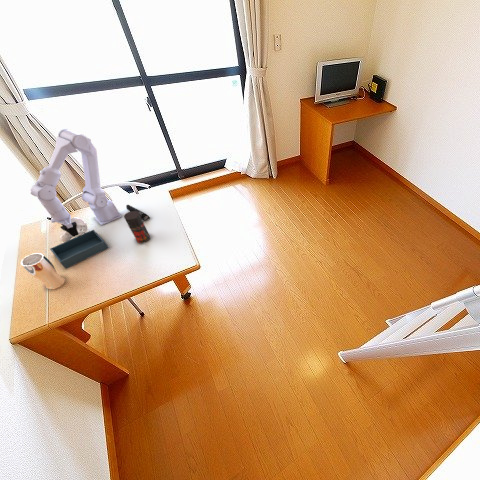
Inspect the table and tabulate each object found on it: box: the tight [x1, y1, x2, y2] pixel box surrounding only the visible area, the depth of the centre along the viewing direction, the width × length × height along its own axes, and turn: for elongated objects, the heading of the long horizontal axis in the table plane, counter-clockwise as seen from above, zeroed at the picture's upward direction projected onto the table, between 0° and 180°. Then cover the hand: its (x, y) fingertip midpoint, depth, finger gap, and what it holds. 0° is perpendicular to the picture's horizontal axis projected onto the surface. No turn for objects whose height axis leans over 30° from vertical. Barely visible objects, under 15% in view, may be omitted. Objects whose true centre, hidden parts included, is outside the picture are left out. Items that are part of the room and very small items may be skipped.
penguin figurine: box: [59, 216, 89, 243], centre depth 129 cm, size 6×8×12 cm
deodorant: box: [123, 211, 151, 244], centre depth 129 cm, size 6×6×15 cm
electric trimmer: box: [125, 204, 151, 222], centre depth 146 cm, size 4×16×3 cm, turn 58°
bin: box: [49, 229, 109, 270], centre depth 124 cm, size 17×11×4 cm, turn 141°
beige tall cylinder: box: [20, 252, 66, 290], centre depth 108 cm, size 7×7×15 cm
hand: (72, 231), depth 130 cm, fingers closed on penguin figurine, 6 cm apart
